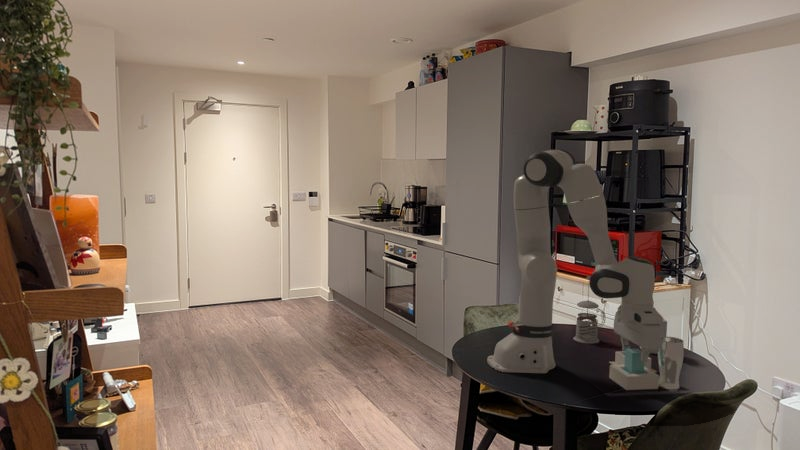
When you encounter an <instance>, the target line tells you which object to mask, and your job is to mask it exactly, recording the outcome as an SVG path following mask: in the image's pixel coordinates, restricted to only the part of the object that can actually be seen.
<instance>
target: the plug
mask: <svg viewBox="0 0 800 450" xmlns="http://www.w3.org/2000/svg"><path fill="white" fill-rule="evenodd" d="M641 354H642V350H641V349H639V348H630V349H625V364H624V370H625V371H626V372H628V373H629V374H643V373H644V362H642V361H640V360H639V355H641Z"/></svg>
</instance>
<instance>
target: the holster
mask: <svg viewBox="0 0 800 450" xmlns="http://www.w3.org/2000/svg"><path fill="white" fill-rule="evenodd" d="M614 354H615V355H614V356H615V359H614V361H608V363H610V365H624V364H625V351H623V350H622V351H615V353H614ZM644 367H646V368H647V369H649V370H651V371H652V372H654V373H658V371H657V370H656V369H653V368H652V358H651V357H650V356H648V361H647V362H644Z"/></svg>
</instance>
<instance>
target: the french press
mask: <svg viewBox="0 0 800 450" xmlns="http://www.w3.org/2000/svg"><path fill="white" fill-rule="evenodd" d="M590 277H591V276H586V280H588V281H590ZM587 290H588V291H587V298H589V297H590V295H589V293H590V285H588V289H587ZM576 305H577V307H579V308H583V309H587V311H586V312H579V313H577V317H576V323H575V324H576V326H575V336H574V337H573V340H574V341H576V342H578V343H581V344H582V343H583V344H598V343H600V339H599V338H598V334H599V331H598V330H599V329H600V328H601V327H603V326H604V325H605V322H606V319H605V317H606V314H605V312H604V311H603V310H602V309H600V308H599V304H597V303H596V302H594V301H592V300H589V299H587V300H583V301H580V302H579V301H578V303H576ZM590 309H591V310H592V309H594V310H595V309H596V310H597V311H596V313H599V311H600V312H601V314H602V319H603V320H602V321H601V323H600V324H598V323H599V322H598V321H599V320H598V319H597V317H598V315H596V314H594V313H589V310H590Z"/></svg>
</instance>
